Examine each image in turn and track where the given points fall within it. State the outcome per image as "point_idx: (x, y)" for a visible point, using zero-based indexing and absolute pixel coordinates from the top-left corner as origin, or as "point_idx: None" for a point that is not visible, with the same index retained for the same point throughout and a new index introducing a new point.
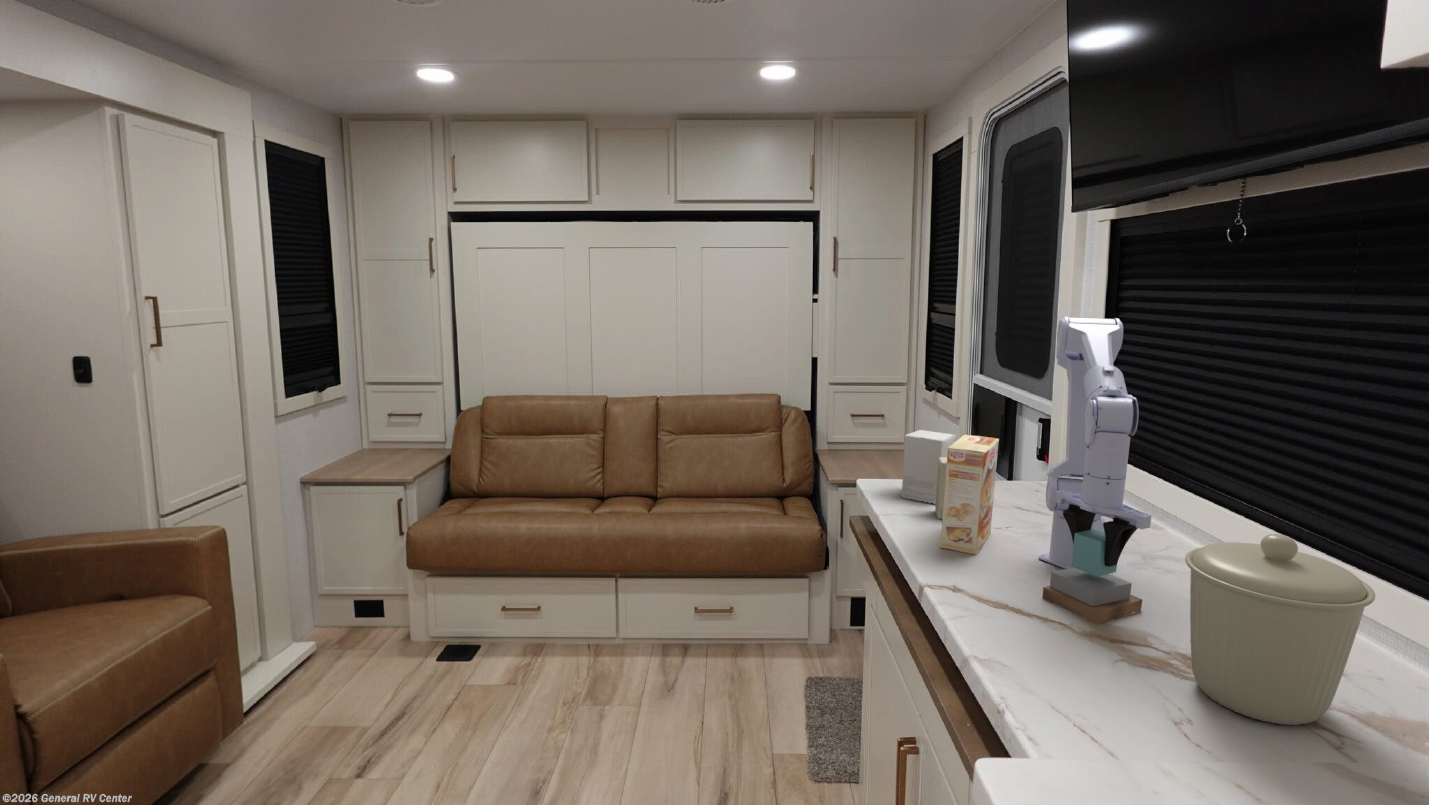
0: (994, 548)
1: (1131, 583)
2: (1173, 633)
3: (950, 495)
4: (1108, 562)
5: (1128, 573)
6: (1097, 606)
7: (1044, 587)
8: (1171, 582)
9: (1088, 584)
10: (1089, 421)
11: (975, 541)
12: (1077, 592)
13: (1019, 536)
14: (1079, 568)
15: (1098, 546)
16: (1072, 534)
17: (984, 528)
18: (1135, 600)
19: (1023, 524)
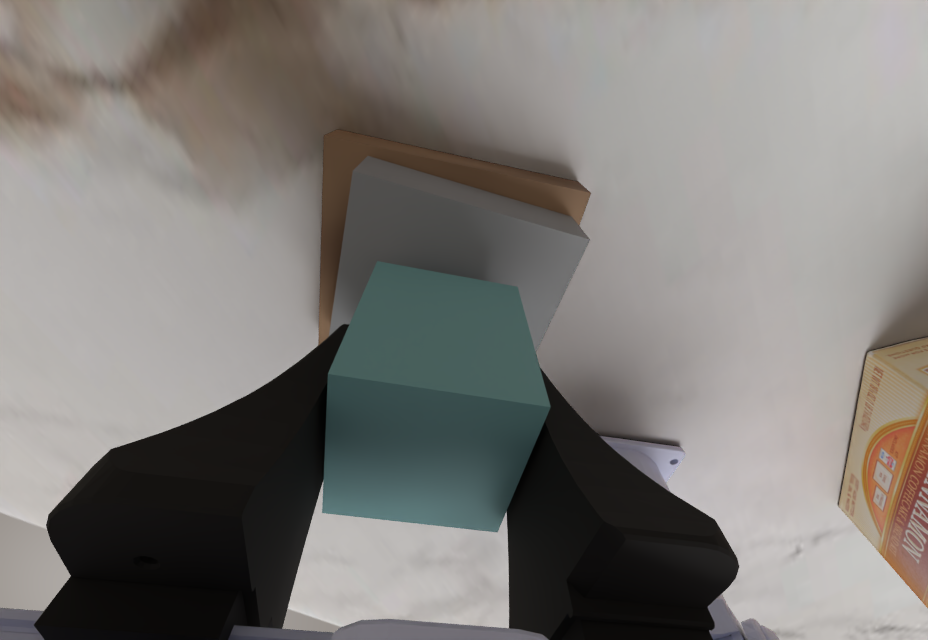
0: (813, 430)
1: None
2: (182, 260)
3: None
4: (334, 331)
5: None
6: None
7: (586, 193)
8: (386, 523)
9: (409, 223)
10: None
11: (921, 380)
12: (444, 185)
13: (758, 528)
14: (475, 281)
15: (357, 351)
16: (572, 417)
17: (907, 468)
18: (324, 336)
19: (762, 581)
